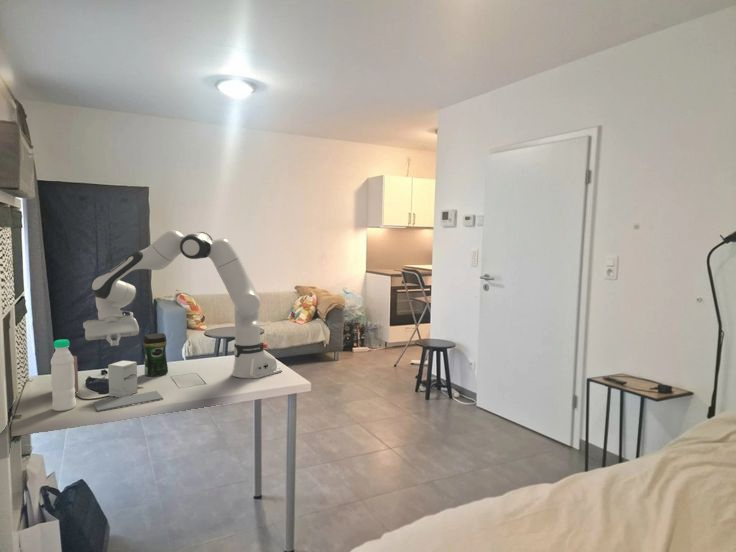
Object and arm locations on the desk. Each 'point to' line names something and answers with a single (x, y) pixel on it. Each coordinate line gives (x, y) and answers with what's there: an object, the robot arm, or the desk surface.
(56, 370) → the water bottle
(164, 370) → the coffee jar
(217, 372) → the desk surface
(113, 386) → the supplement box
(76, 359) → the greeting card
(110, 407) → the mat
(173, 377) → the desk surface
